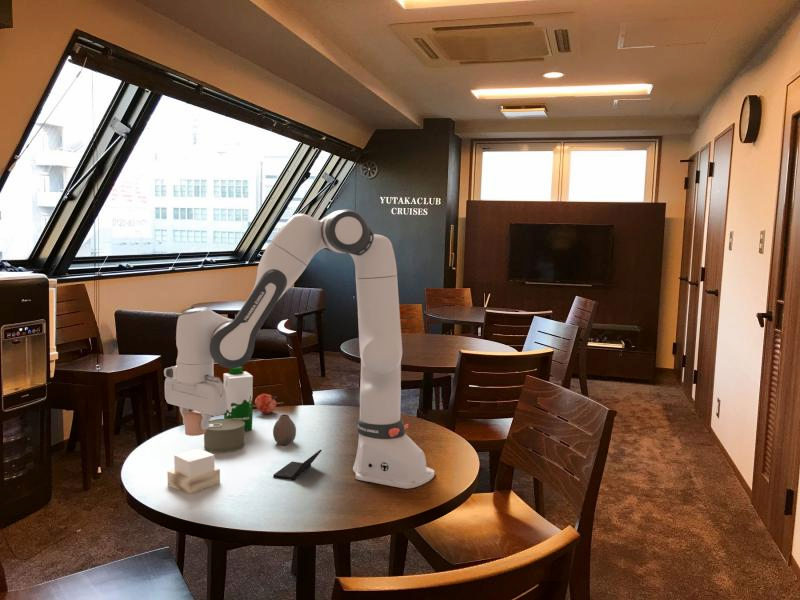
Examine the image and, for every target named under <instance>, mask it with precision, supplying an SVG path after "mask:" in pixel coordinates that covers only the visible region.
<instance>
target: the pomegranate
mask: <svg viewBox="0 0 800 600" xmlns="http://www.w3.org/2000/svg"><path fill="white" fill-rule="evenodd" d="M275 399H277V396H276V395H274V396H272V395H271V394H268V393H261V394H260V395H257V397H256V398H255V400H254V404H255V405H256V410H255V411H254V413H256V412H260V413H261V414H262V415H269V414H270V413H272V412H274V410H276V406H277V401H276V400H275Z"/></svg>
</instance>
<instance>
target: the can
mask: <svg viewBox="0 0 800 600" xmlns="http://www.w3.org/2000/svg"><path fill="white" fill-rule="evenodd" d="M244 426H245V422H244V421H242V420H239V419H231V418H226V419H224V418H216V419H212V420H210V421H209V428H208V429H206V433H205V434H203V443H204V444H203V445H204V446H203V449H204V448H205V449H206V450H205V449H204V450H205V451H207V450H208V451H207V452H209V451H212V452H211V453H215V452H217V454H219V453H220V454H221V453H222V454H223V453H231V452H235V451H239V450H242V449H243V448H244V447H245V431H244Z"/></svg>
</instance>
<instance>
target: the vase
mask: <svg viewBox="0 0 800 600" xmlns="http://www.w3.org/2000/svg"><path fill="white" fill-rule="evenodd" d="M296 435H297V427H296V425H295V423H294V421H293V420H292V418H291V417H290V415H289V414H286V413H285V414H284V413H282V414H281V415H280V416H279V418H278V419H277V421H276V422H275V423H274V425H273V429H272V436H273V440H274V441H275V442H276V444H277V445H280V446H289V445H291V444H292V443H293V442H294V441H295V439H296Z"/></svg>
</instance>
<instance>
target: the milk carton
mask: <svg viewBox="0 0 800 600" xmlns="http://www.w3.org/2000/svg"><path fill="white" fill-rule="evenodd" d="M253 383H254V376H253V375H252V374H251V373H249V372H248V371H243V366H241V367H238V368H229V372H226V373H223V384H224V388H225V392H226V400H227V411H226V412H225V414H223V419H226V418H231V419H239V420H242V421H244V422H245V426H244V432H247V431H252V430H253V415H254V414H253V412H254V411H253V410H254V409H253V408H254V407H253V405H254V404H253V403H254V401H253V399H254V398H253V391H254V390H253V389H254V388H253Z"/></svg>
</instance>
